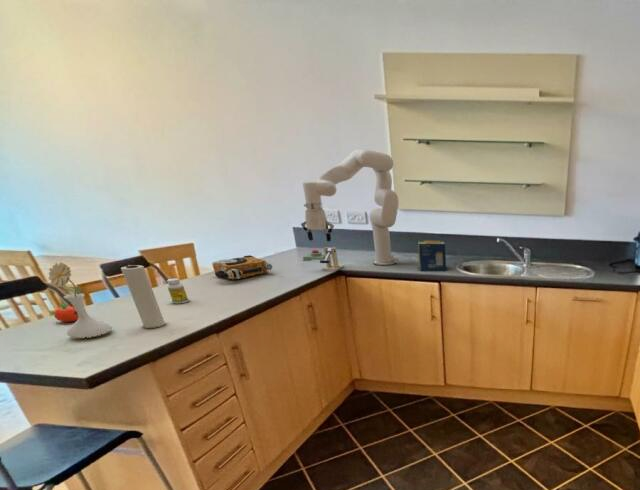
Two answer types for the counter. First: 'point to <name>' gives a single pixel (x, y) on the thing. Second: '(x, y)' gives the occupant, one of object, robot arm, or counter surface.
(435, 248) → the protein box
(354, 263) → the counter surface
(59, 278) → the flower in vase
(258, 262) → the device
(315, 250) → the button
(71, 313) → the tomato
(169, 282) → the supplement bottle
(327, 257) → the lever
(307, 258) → the button box
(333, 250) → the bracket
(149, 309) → the paper towel roll
